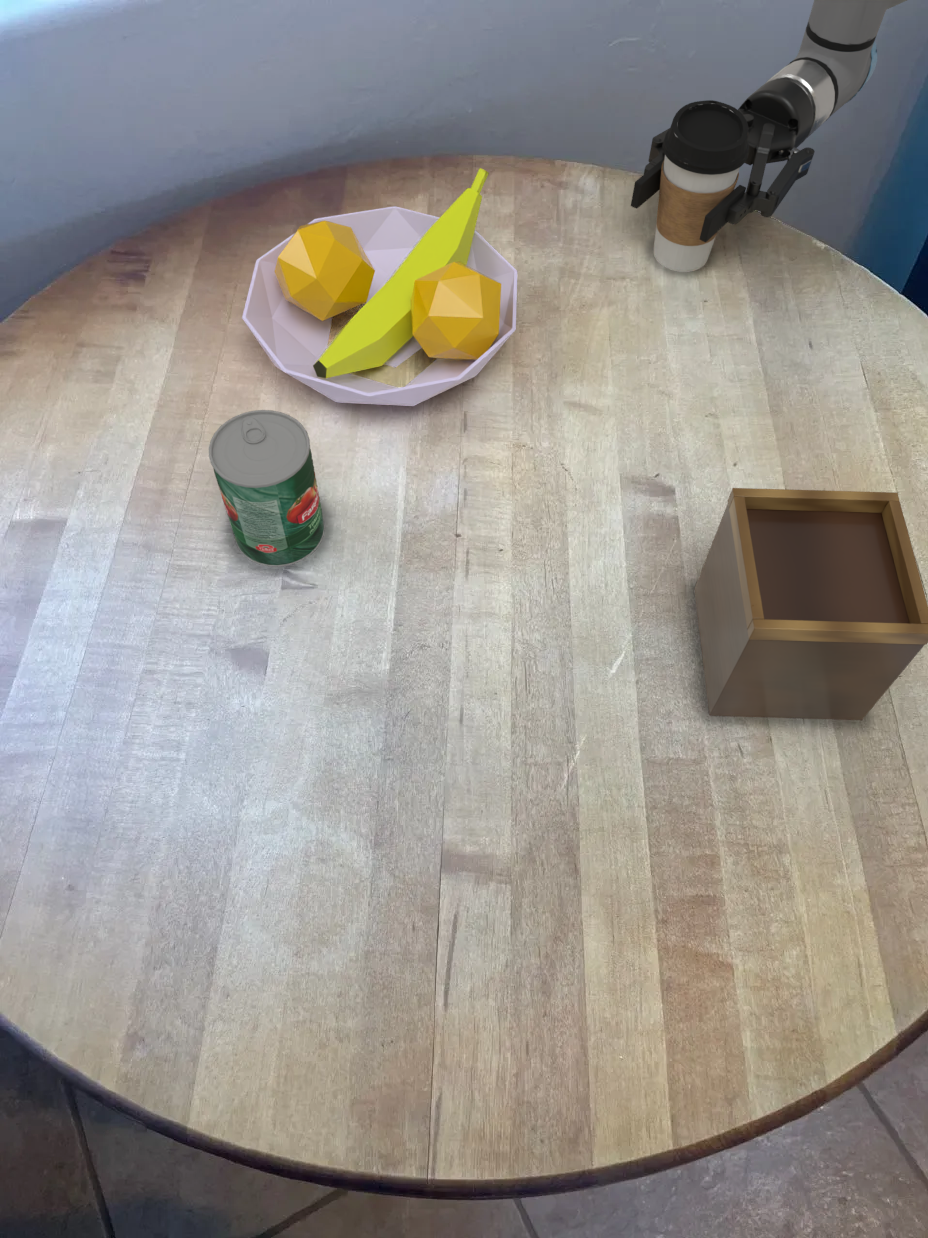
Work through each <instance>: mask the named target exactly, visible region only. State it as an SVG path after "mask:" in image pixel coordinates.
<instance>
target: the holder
mask: <svg viewBox="0 0 928 1238" xmlns="http://www.w3.org/2000/svg"><path fill="white" fill-rule="evenodd" d="M693 591H694V600H695V610H696V616H697V617H696V618H697V623H698V624H697V625H698V634H699V640H700V649H701V650H700V651H701V657H702V666H703V674H704V684H705V691H706V699H707V708H708V715H709V716H710V717H734V718H735V717H736V718H737V717H738V718H767V719H768V718H769V719H802V720H803V719H804V720H805V719H807V720H833V721H834V720H837V721H839V720H840V721H863V720H864V718H865V717H866V716H867V715H868V714H869V712H870V711H872V709H873V708H874V707H875V706H876V704H877V703H878V702H879V700H880V699H881V698H882V697H883V696H884V694H886V693H887V691H889V689H890V687H891V686H892V685H893V684H894V683H895V681H896V680H897V679H898V678H899V677H900V675H901V674H902V673H903V672H904V670H905V669H906V668H907V667H908V666H909V664H910V663H911V662H912V661H913V660H914V659H915V657H916V656H917V655H918V653H919V652H921V650H922V649H923V648H924V647H925V646H926V645H928V600H927V597H926V593H925V589H924V585H923V582H922V578H921V575H920V571H919V567H918V564H917V559H916V556H915V552H914V548H913V545H912V542H911V537H910V534H909V530H908V527H907V523H906V518H905V515H904V512H903V509H902V505H901V502H900V496H899V493H898V492H889V491H888V492H887V491H886V492H885V491H857V490H856V491H854V490H824V489H823V490H822V489H821V490H818V489H817V490H816V489H785V488H784V489H782V488H751V487H750V488H749V487H748V488H747V487H732V488H731V491H730V494H729V496H728V498H727V504H726V507H725V509H724V512H723V514H722V517H721V520H720V522H719V525H718V527H717V530H716V532H715V535H714V537H713V540H712V542H711V545H710V548H709V550H708V553H707V556H706V558H705V561H704V563H703V566H702V568H701V571H700V573H699V576H698V578H697V581H696V583H695V586H694V588H693Z"/></svg>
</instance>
